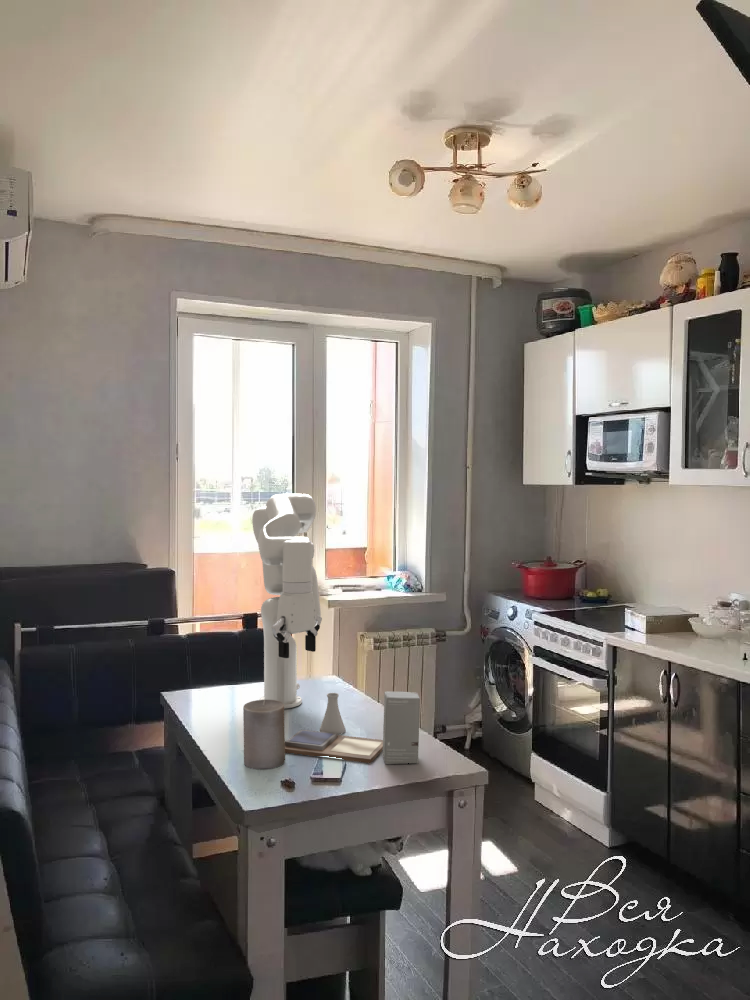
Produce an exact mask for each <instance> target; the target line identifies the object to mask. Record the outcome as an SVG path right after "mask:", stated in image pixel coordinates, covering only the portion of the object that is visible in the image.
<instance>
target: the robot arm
mask: <svg viewBox="0 0 750 1000" xmlns="http://www.w3.org/2000/svg"><path fill="white" fill-rule="evenodd" d="M265 504H266V505H265V506H261V507H258V508H256V509H255V510H254V511H253V514H252V520H251V521H252V530H253V534H254V537H255V540H256V543H257V544H258V551H259V555H260V559H261V561H262V563H261V564H262V575H263V585H264V589H265V591H266V592H267V593H268V594H269V595H272V596H274V595H275V596H274V597H270V598H266V600H264V601H263V602H262V604H261V608H260V614H261V615H260V617H261V622H262V628H263V630H262V631H263V652H264V653H263V656H264V657H263V663H264V664H263V667H264V668H263V680H264V682H263V685H264V687H263V688H264V689H263V694H264V695H263V696H262V697H259V699H258V700H276V701H280V702H282V703H283V704H284V710H285V709H291V708H296V707H298V706H300V705H301V704H302V703H303V699H302V697H301V696H299V695H297V693H298V692H297V690H299V689H300V686H301V685H300V684H299V683H298V682H297V680H298V679H297V674H298V673H297V664H298V663H297V660H298V659H297V656H298V655H297V654H298V653H297V651H298V650H297V643H296V640H295V639H294V637H293V636H292V635H294V634H300V633H303V632H305V633H306V634H305V637H304V638H305V639H304V645H305V646H304V648H305V651H308V652H313V653H314V652H316V649H317V648H316V647H317V643H316V642H317V641H316V637H317V636H318V631H319V630H320V627H321V623H322V620H323V618H322V616H321V615H322V614H321V613H322V612H321V602H320V595H319V594H320V593H319V583H318V576H317V572H316V569H315V567H314V566H313V558H314V556H315V545H314V542H312V540H311V539H310V538H309V537H307V536H298V534H303V533H304V534H305V533H306V532H308V531H309V529H310V528H311V526H312V525H313V523H314V521H315V519H316V515H317V506H316V502H315V500H314V499H313V497H312V496H311V495H309V494H306V493H303V494H302V493H281V494H280V493H279V494H274V495H272V496H271V497H270V498H268V500H267V501H266V503H265Z"/></svg>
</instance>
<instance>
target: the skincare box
mask: <svg viewBox="0 0 750 1000" xmlns="http://www.w3.org/2000/svg"><path fill="white" fill-rule="evenodd" d="M383 694H384V695H383V696H384V697H383V701H384V703H383V704H384V705H383V724H382V725H383V731H382V732H383V733H382V740H383V751H382V757H383V761H384V763H385V765H401V764H404V765H405V764H407V765H409V764H419V749H420V748H419V745H420V744H419V742H420V713H421V712H420V708H421V703H420V702H421V701H420V700H421V698H420V695H419V693H418V692H413V691H411V692H410V691H384V692H383ZM408 763H409V764H408Z"/></svg>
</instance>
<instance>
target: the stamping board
mask: <svg viewBox="0 0 750 1000" xmlns="http://www.w3.org/2000/svg"><path fill="white" fill-rule="evenodd" d="M382 750H383V739H377V738H369V737H360V736H352V735H343V734H340V735H337V734H336V733H327V732H320V731H316V730H308V729H307V730H306V729H300V730H299V731H297V732H295V734H293V735H292V736H291V737H289V738H288V739H286V740H285V754H290V753H294V754H293V755H298V754H302V755H301V756H306V755H309V756H308V757H314V756H329V757H336V758H342V759H344V760H343V761H347V762H354V763H355V762H356V763H364V764H372V762H374V761H375V759H376V758H377V757H378V756H379V755H380V754H381V753H383V751H382Z"/></svg>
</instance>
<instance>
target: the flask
mask: <svg viewBox="0 0 750 1000" xmlns="http://www.w3.org/2000/svg"><path fill="white" fill-rule="evenodd" d="M339 695H340V693H337V692H329V693H327V694H326V697H327V704H326V705H327V706H326V709H325V713H324V716H323V717H322V718H323V719H322V721H321V724H320V727H319V732H327V733H336V734H337V735H343V734H344V733H346V727H345V723H344V721H343V718H342V715H341V711H340V709H339V702H338V700H339V699H338V698H339Z"/></svg>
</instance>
